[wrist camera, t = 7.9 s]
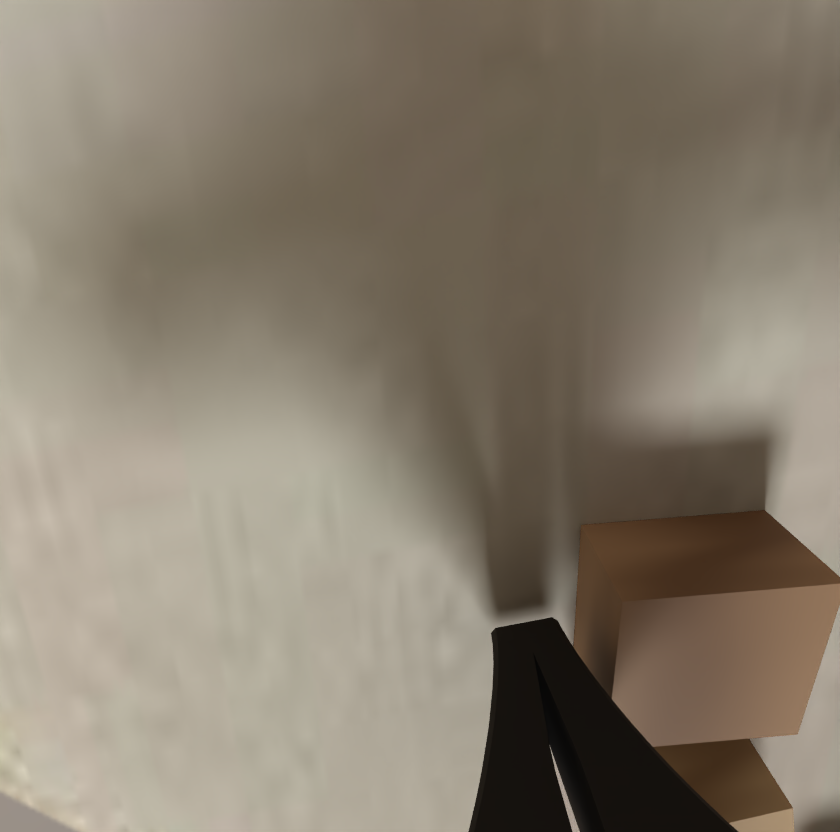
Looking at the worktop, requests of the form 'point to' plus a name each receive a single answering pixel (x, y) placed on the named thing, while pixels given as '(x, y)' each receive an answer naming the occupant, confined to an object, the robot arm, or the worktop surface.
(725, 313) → the worktop surface
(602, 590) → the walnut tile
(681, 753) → the oak tile
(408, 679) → the worktop surface
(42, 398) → the worktop surface
